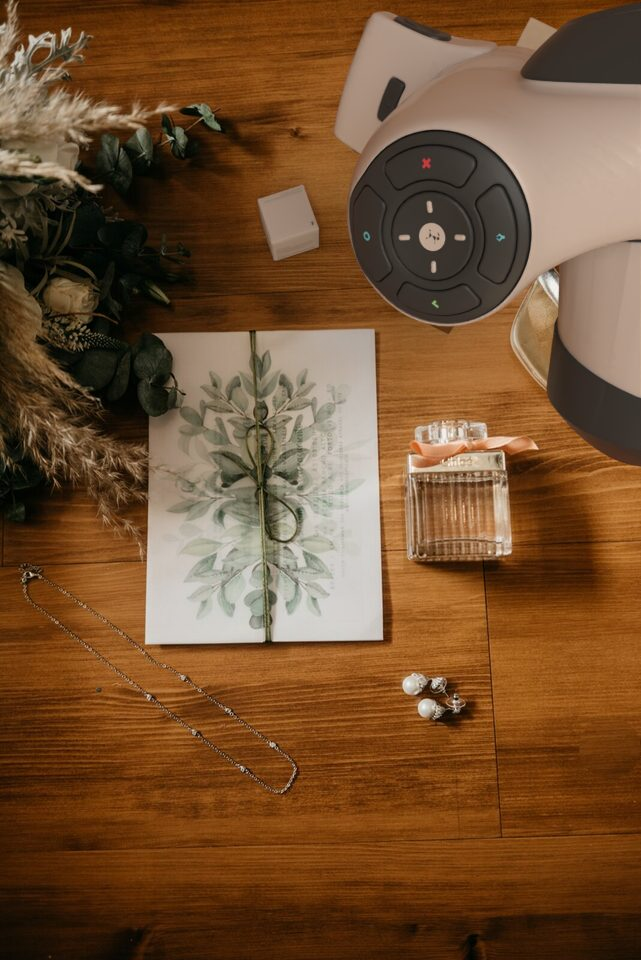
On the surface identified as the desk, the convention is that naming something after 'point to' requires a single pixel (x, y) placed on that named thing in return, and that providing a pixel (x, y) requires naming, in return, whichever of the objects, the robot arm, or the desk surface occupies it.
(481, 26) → the desk surface
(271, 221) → the small box
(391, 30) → the robot arm
